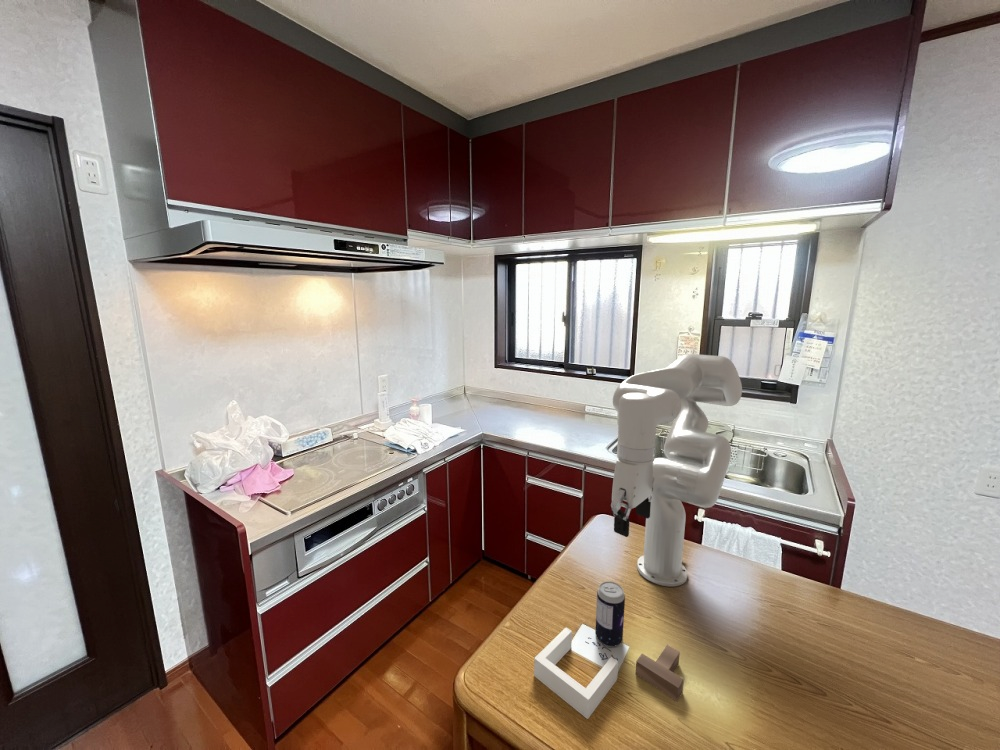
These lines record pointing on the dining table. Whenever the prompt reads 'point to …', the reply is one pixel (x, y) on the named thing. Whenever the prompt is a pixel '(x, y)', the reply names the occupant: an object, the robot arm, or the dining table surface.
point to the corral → (567, 686)
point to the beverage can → (610, 614)
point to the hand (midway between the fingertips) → (632, 524)
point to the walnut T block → (662, 672)
